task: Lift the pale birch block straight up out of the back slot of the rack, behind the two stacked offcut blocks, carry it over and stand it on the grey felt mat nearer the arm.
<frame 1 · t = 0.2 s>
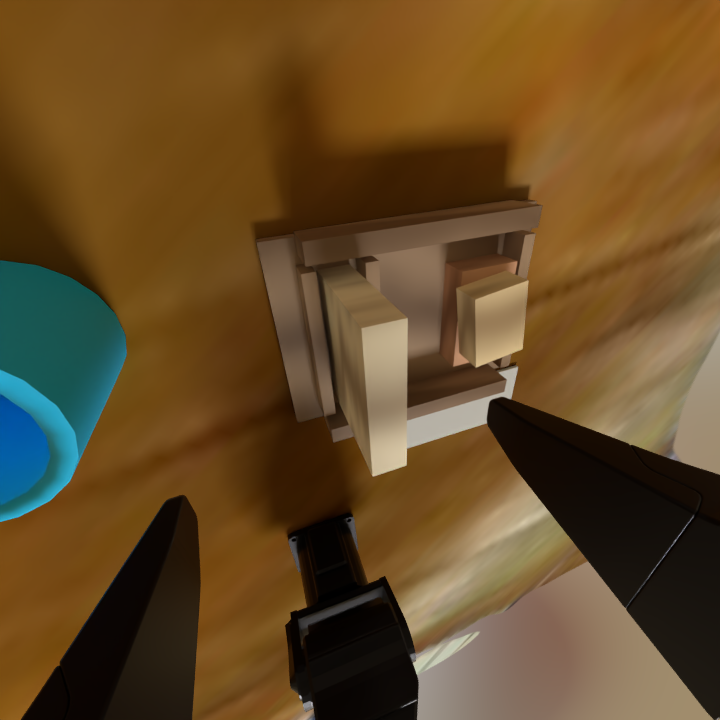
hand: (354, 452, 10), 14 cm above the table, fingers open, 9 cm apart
rack: (405, 314, 24), on the table
offcut top: (481, 313, 23), point 3 cm above the table, touching offcut low
offcut low: (466, 306, 25), point 1 cm above the table, touching offcut top, rack
block: (341, 334, 23), point 1 cm above the table, touching rack
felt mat: (459, 406, 31), on the table
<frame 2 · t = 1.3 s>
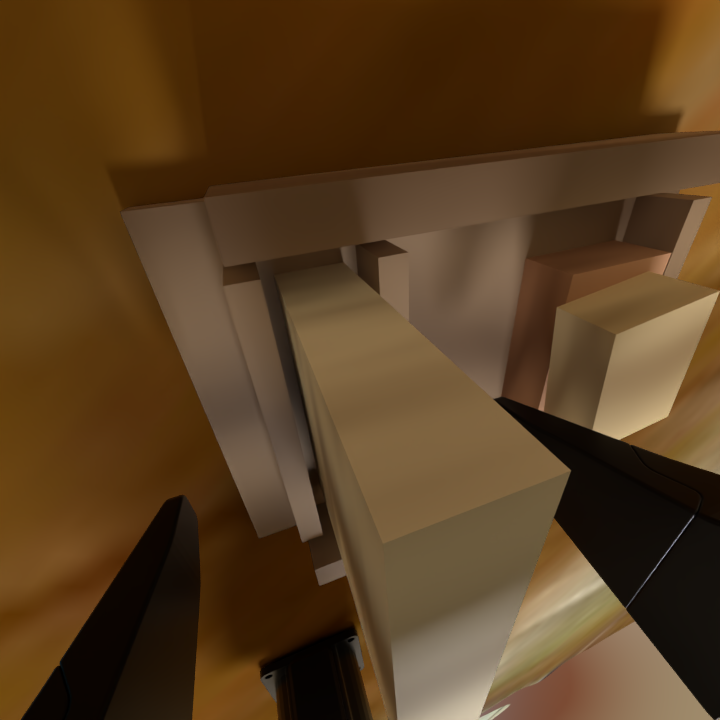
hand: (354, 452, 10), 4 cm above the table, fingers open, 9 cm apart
rack: (444, 350, 14), on the table
offcut top: (590, 352, 12), point 3 cm above the table, touching offcut low
offcut low: (550, 334, 14), point 1 cm above the table, touching offcut top, rack
block: (330, 394, 12), point 1 cm above the table, touching rack
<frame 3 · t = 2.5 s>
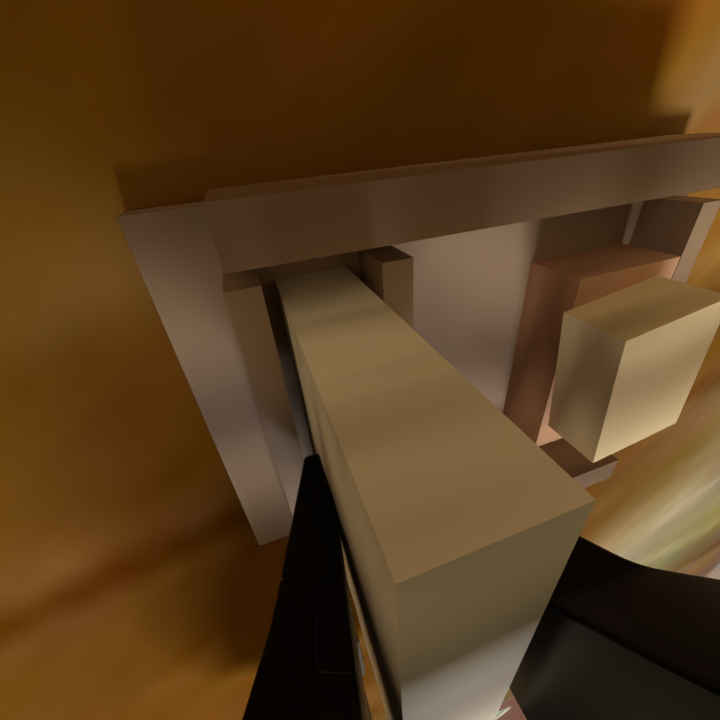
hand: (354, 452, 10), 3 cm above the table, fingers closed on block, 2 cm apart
rack: (448, 355, 14), on the table
offcut top: (597, 357, 12), point 3 cm above the table, touching offcut low
offcut low: (556, 338, 14), point 1 cm above the table, touching offcut top, rack
block: (331, 400, 12), point 1 cm above the table, touching gripper, rack
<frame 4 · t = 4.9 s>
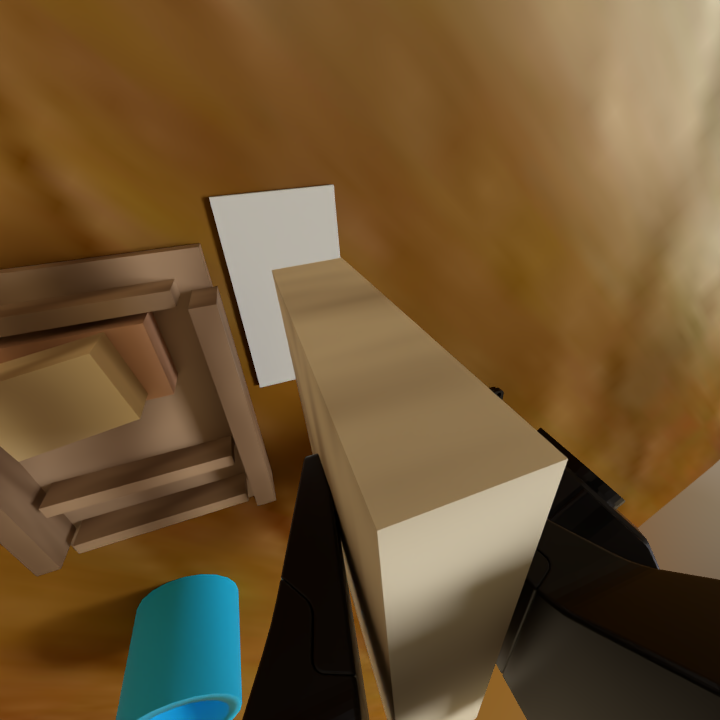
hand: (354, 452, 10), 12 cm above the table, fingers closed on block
rack: (130, 415, 20), on the table
offcut top: (70, 383, 16), point 3 cm above the table, touching offcut low
mug: (192, 611, 32), on the table
offcut low: (89, 356, 17), point 1 cm above the table, touching offcut top, rack
block: (328, 390, 12), point 10 cm above the table, touching gripper
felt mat: (291, 295, 20), on the table
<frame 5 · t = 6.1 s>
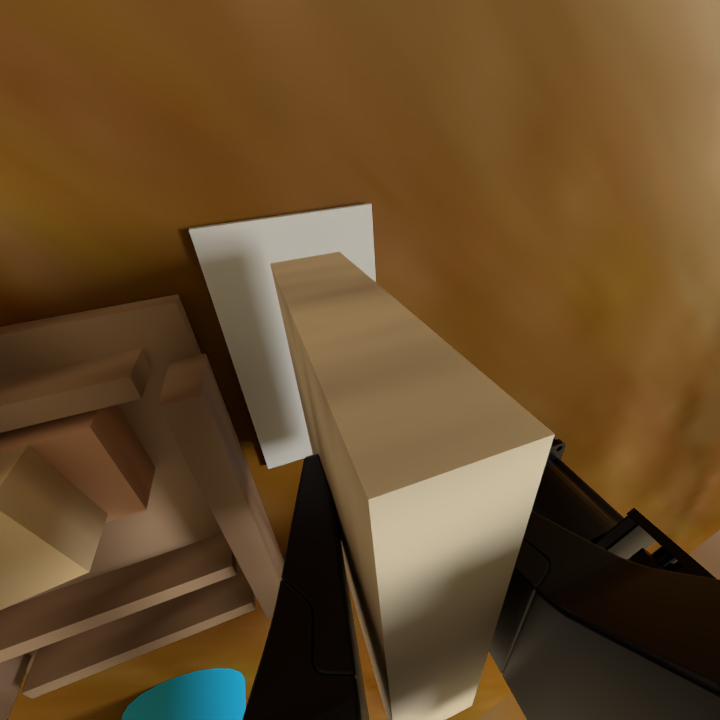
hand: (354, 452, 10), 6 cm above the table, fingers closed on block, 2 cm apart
rack: (94, 517, 15), on the table
mug: (191, 704, 27), on the table
offcut low: (23, 460, 12), point 1 cm above the table, touching offcut top, rack
block: (326, 384, 12), point 3 cm above the table, touching gripper
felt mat: (310, 354, 14), on the table
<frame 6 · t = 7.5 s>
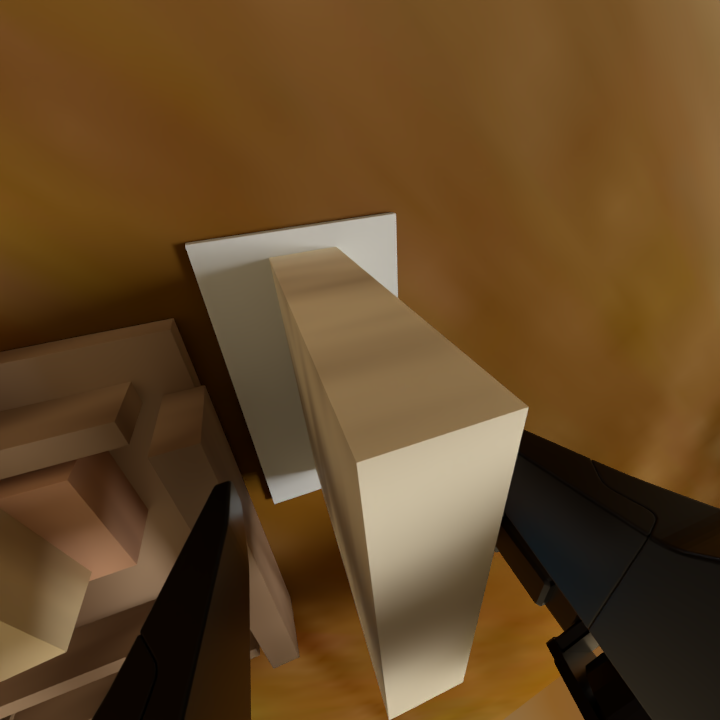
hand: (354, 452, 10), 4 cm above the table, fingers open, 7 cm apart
rack: (80, 561, 13), on the table
block: (324, 377, 12), resting on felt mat
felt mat: (322, 380, 13), on the table
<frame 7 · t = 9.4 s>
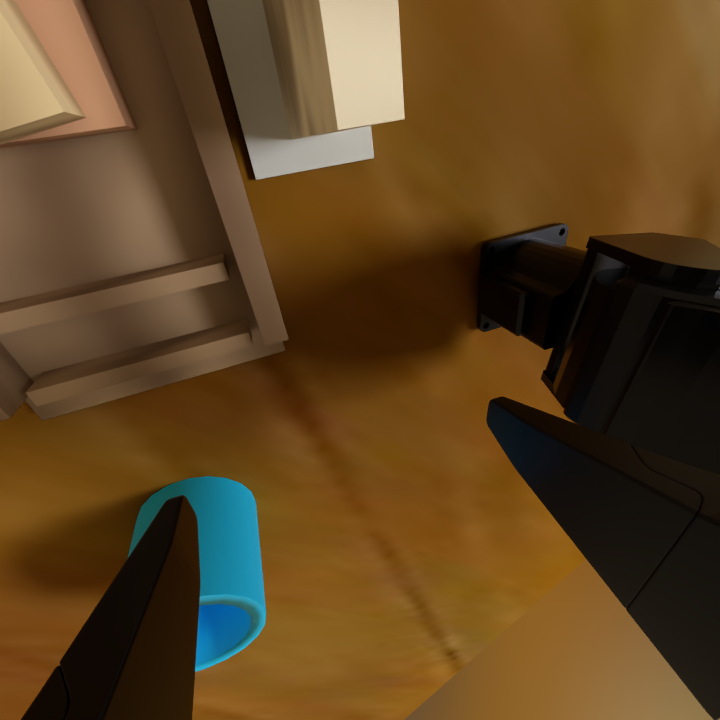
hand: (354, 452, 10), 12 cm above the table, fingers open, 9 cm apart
rack: (84, 210, 15), on the table
mug: (205, 528, 27), on the table
offcut low: (1, 75, 12), point 1 cm above the table, touching offcut top, rack
block: (287, 2, 14), resting on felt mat
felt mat: (287, 16, 14), on the table
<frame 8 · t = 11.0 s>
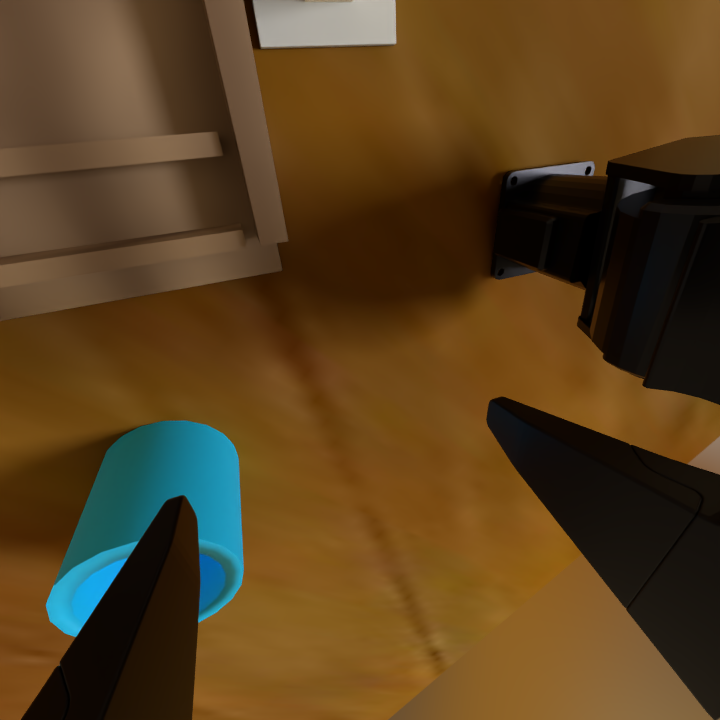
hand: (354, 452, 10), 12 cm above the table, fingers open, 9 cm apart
rack: (52, 54, 13), on the table
mug: (179, 485, 24), on the table
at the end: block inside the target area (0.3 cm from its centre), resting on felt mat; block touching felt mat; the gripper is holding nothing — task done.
